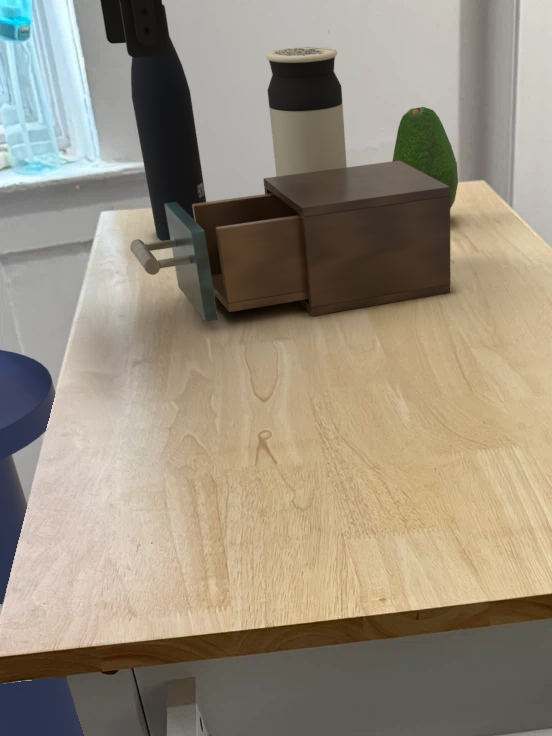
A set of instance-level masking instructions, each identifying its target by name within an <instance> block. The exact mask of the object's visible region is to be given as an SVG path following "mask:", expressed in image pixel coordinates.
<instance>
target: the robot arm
mask: <svg viewBox="0 0 552 736" xmlns="http://www.w3.org/2000/svg"><path fill="white" fill-rule="evenodd" d="M99 1H100V7H101V13H102V14H101V15H102V19H103V26H104V31H105V32H104V33H105V38H106V40H107V42H108V43H110V44H114V45H115V44H125V47H126V52H127V54H128V56H129V57H131V58H132V57H134V58H135V57H151V56H165V55H167V53H168V43H167V36H166V28H165V21H164V13H163V6H162V4H163V0H99Z"/></svg>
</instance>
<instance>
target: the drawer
mask: <svg viewBox="0 0 552 736" xmlns="http://www.w3.org/2000/svg"><path fill="white" fill-rule="evenodd" d="M164 205H165V210H166V216H167V222H168V228H169V234H170V240H159V241H158V240H157V241H152V242H145V243H144V241H143V240H141V239H133V240H132V241H131V243H130V246H129V247H130V251H131V253H132V254H133V256H134V257H135V258H136V260H137V261H138V263H139V264H140V265H141V266H142V268H143V269H144V271H145V272H146V273H147V274H148V275H152V276H155V275H157V274H158V273H159V272H160V270H161V269H167V268H172V267H174V268H175V269H174V270H175V273H176V274H175V275H176V280H177V285H178V288H179V289H180V291H181V292H182V293H183V295H184V296H185V297H186V299H187V300H188V302H189V303H190V304H191V305H192V306H193V308H194V309H195V310H196V312H197V313H198V314H199V315H200V316H201V318H202V319H203V321H204V322H205V323H209V322H215V321H218V320H219V316H218V310H217V303H216V299H215V298H217V299H218V300H219V301H220V303H221V304H222V305H223V306H224V308H225V309H226V310H227V311H228V312H229V313H231V312H238V311H245V310H249V309H250V310H251V309H254V308H255V309H256V308H263V307H268V306H274V305H279V304H286V303H287V304H288V303H292V302H293V303H294V302H298V301H299V300H305V299H308V288H307V277H306V267H305V256H304V245H303V234H302V223H301V215H300V214H299V213H298V212H296V211H295V210H294V209H292V208H291V207H290V206H289V205H287V204H286V203H285V202H283V201H282V200H281V199H279V198H278V197H277V196H275V195H274V194H273V193H269V194H265V193H263V194H255V195H254V194H253V195H248V196H241V197H239V196H238V197H233V198H225V199H217V200H210V201H206V202H203V203H195V204H192V208H193V214H194V220H193V219H192V217H191V216H190V215H189V214H188V213H187V212H186V211H185V210H184V209H183V208H182V207H181V206H180V205H179V204H178V203H177V202H171V203H165V204H164ZM166 249H171V250H172V256H173V257H170V258H162V259H157V258H156V257H155V255H154V254H153V253H152V252H151V251H158V250H166Z"/></svg>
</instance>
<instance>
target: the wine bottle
mask: <svg viewBox="0 0 552 736" xmlns="http://www.w3.org/2000/svg"><path fill="white" fill-rule="evenodd" d="M162 6H163V13H164V21H165V28H166V36H167V43H168V53H167V55H165V56H151V57H135V58H134V57H131V66H130V87H131V88H130V90H131V100H132V106H133V111H134V118H135V122H136V128H137V135H138V139H139V145H140V151H141V156H142V162H143V168H144V173H145V179H146V184H147V189H148V195H149V199H150V207H151V211H152V217H153V218H152V219H153V223H154V228H155V235H156V238H158V240H160V241H164V240H170V234H169V228H168V222H167V216H166V210H165V205H164V204H165V203H171V202H177V203H178V204H179V205H180V206H181V207H182V208H183V209H184V210H185V211H186V212H187V213H188V214H189V215H190V216H191V217H192V219H193V220H194V214H193V208H192V204H195V203H203V202H207V197H206V190H205V182H204V176H203V170H202V169H203V168H202V163H201V156H200V150H199V142H198V137H197V129H196V122H195V117H194V109H193V104H192V103H193V101H192V94H191V90H190V87H189V83H188V79H187V76H186V73H185V69H184V66H183V64H182V61H181V59H180V57H179V55H178V52H177V50H176V47H175V45H174V43H173V40H172V39H171V36H170V32H169V31H170V30H169V25H168V18H167V12H166V6H165V5H164V4H163V3H162Z"/></svg>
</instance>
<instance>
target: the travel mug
mask: <svg viewBox="0 0 552 736" xmlns="http://www.w3.org/2000/svg"><path fill="white" fill-rule="evenodd" d="M337 55H338V51H337V50H336V49H335V48H332V47H327V46H293V47H285V48H279V49H275V50H270V51H268V52H267V53H266V55H265V57H266V60H268V63H269V66H270V71H271V78H270V81H269V84H268V87H267V100H268V107H269V117H270V119H269V120H270V126H271V128H270V129H271V136H272V147H273V155H274V156H273V158H274V165H275V166H274V167H275V174H276V176H275V177H278V176H285V175H293V174H300V173H308V172H316V171H323V170H331V169H339V168H346V167H348V166H347V153H346V152H347V151H346V136H345V121H344V105H343V90H342V84H341V82H340V81H339V78H338V77H337V74H336V73H335V60H336V57H337Z"/></svg>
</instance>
